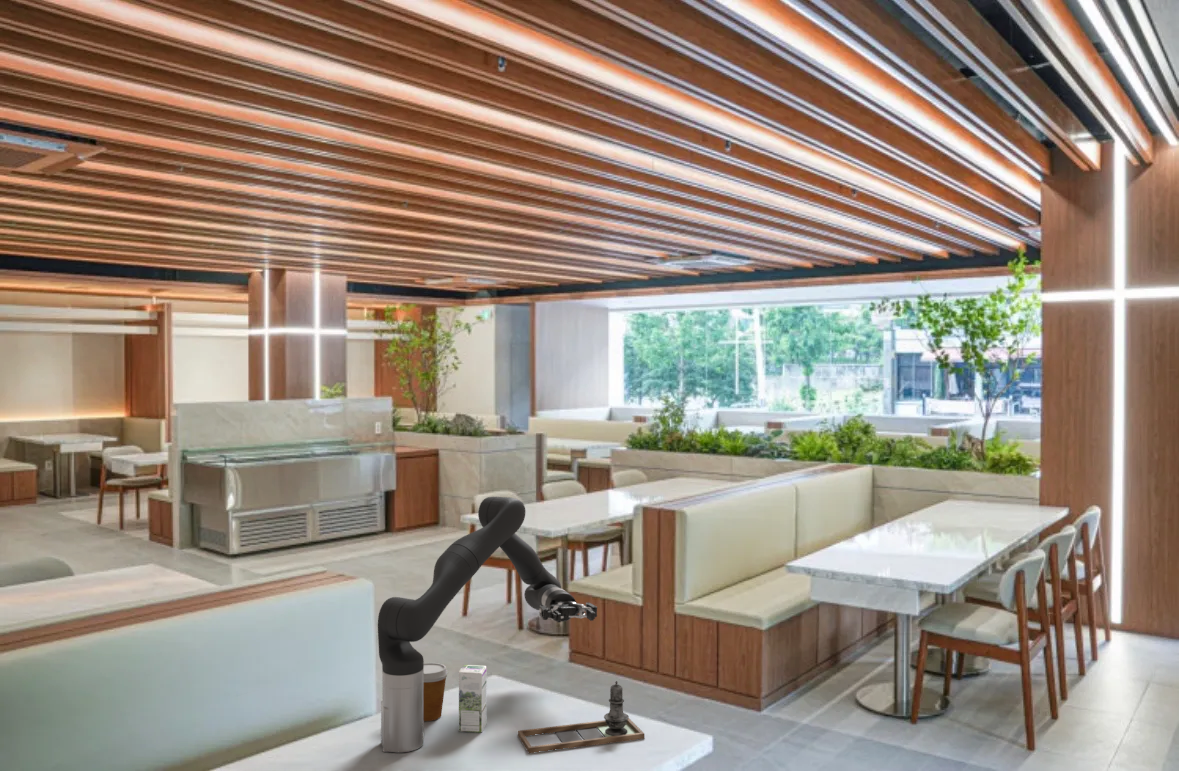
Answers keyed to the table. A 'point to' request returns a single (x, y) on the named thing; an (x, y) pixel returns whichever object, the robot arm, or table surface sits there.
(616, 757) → the table surface
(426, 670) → the disposable coffee cup
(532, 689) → the table surface
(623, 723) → the salt shaker
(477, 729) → the syrup box
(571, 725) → the tray
